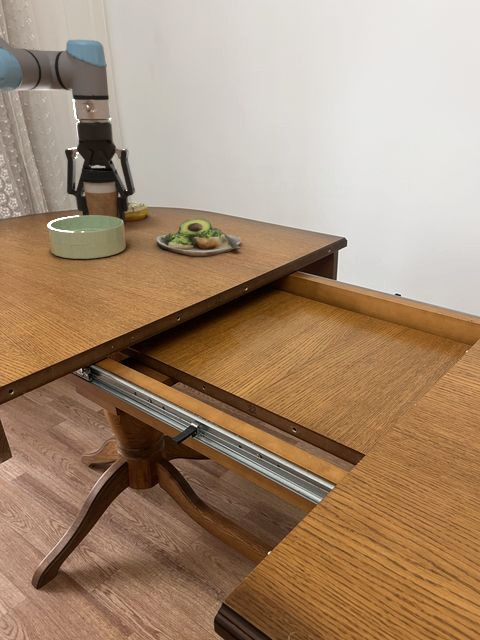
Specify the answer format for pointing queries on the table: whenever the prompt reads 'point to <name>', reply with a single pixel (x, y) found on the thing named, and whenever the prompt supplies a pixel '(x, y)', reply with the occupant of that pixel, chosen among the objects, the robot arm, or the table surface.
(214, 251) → the salad plate
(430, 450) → the table surface
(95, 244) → the bowl
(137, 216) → the decorated donut
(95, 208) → the coffee cup
